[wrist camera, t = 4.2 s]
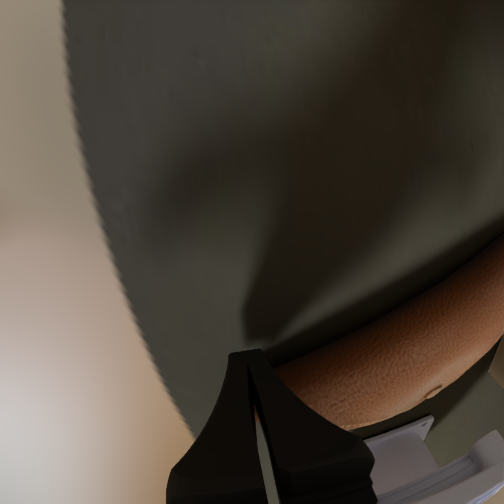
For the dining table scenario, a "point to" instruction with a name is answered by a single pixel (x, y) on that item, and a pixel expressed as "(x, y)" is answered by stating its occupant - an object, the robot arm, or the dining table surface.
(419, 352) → the sunglasses case
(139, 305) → the dining table surface
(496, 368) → the bar
